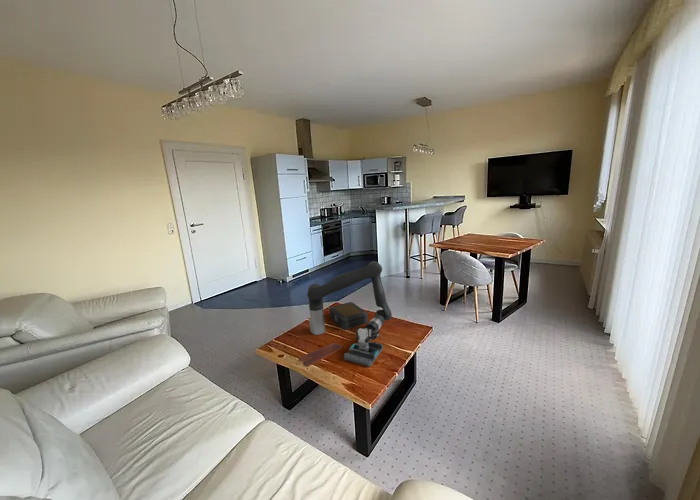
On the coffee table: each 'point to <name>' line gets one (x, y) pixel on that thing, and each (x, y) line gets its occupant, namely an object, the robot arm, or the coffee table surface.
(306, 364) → the wooden tablet
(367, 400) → the coffee table surface
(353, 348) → the rack
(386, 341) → the coffee table surface
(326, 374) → the coffee table surface
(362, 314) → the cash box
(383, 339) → the coffee table surface
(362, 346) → the panel
